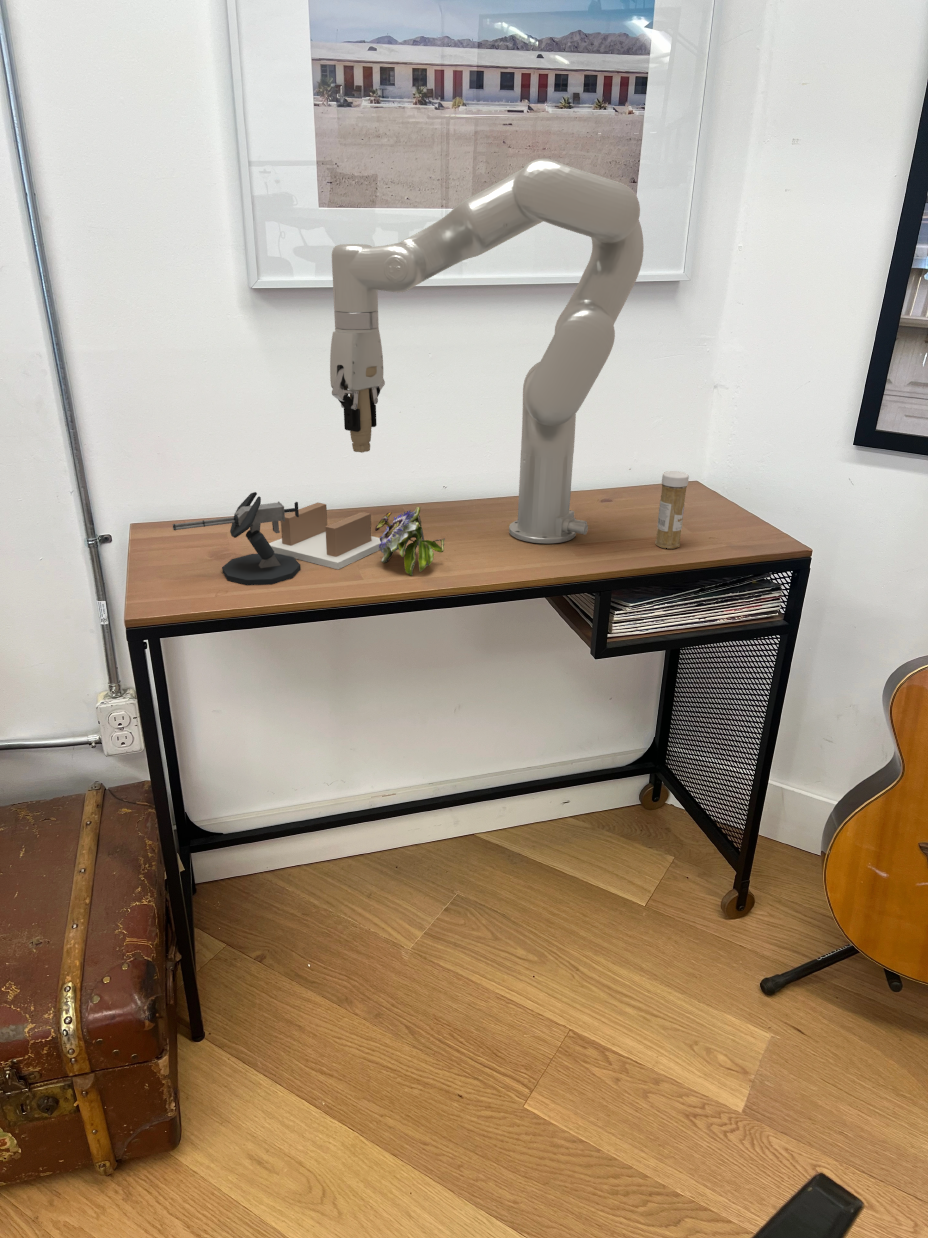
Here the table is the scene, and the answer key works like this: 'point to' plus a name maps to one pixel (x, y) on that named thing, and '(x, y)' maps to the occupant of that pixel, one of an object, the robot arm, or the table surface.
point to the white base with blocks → (326, 537)
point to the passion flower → (401, 534)
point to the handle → (363, 418)
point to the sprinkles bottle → (671, 509)
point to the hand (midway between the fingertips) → (360, 427)
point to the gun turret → (255, 543)
